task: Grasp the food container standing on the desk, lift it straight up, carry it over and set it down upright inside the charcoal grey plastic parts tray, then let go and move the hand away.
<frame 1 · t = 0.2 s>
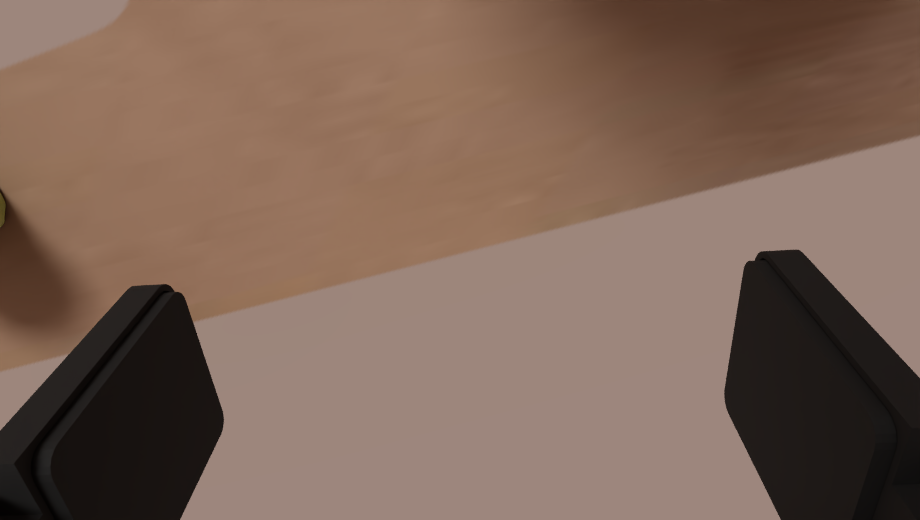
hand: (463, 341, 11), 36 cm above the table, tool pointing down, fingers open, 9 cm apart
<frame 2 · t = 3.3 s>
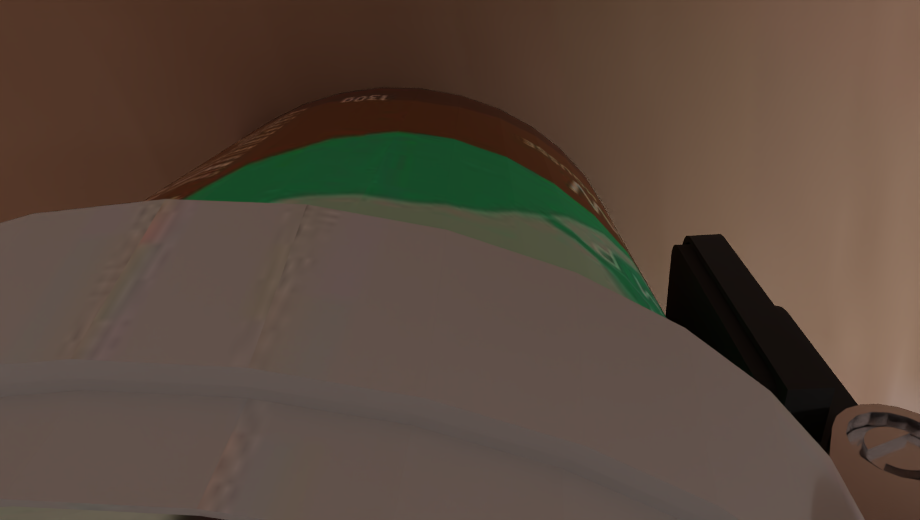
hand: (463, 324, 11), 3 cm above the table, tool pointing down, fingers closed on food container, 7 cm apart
food container: (506, 223, 13), on the table, touching gripper
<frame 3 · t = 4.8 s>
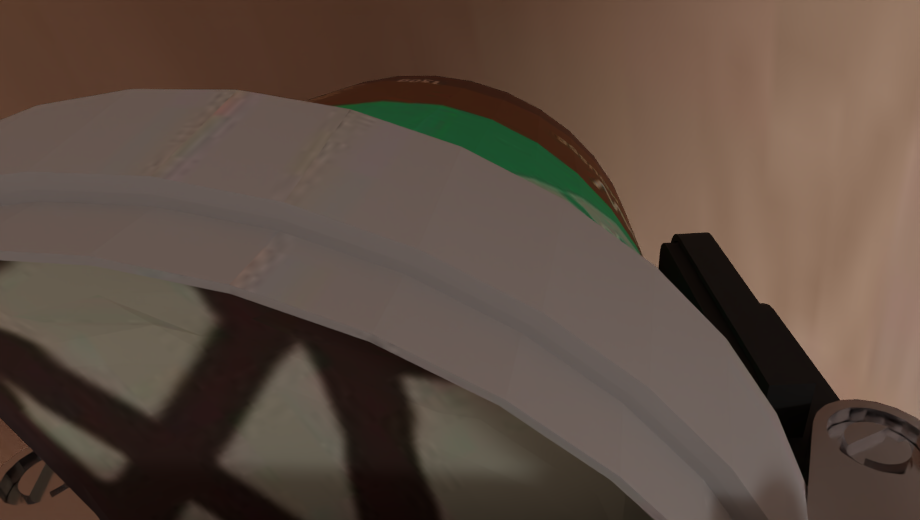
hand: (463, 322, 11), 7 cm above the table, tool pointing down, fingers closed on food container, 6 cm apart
food container: (534, 220, 14), point 3 cm above the table, touching gripper
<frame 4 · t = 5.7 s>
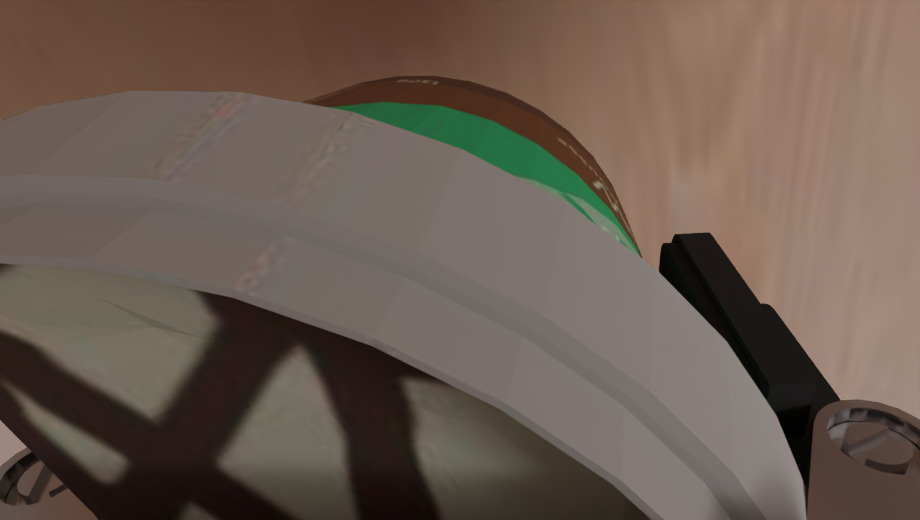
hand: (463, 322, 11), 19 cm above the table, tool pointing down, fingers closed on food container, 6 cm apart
food container: (533, 221, 14), point 15 cm above the table, touching gripper
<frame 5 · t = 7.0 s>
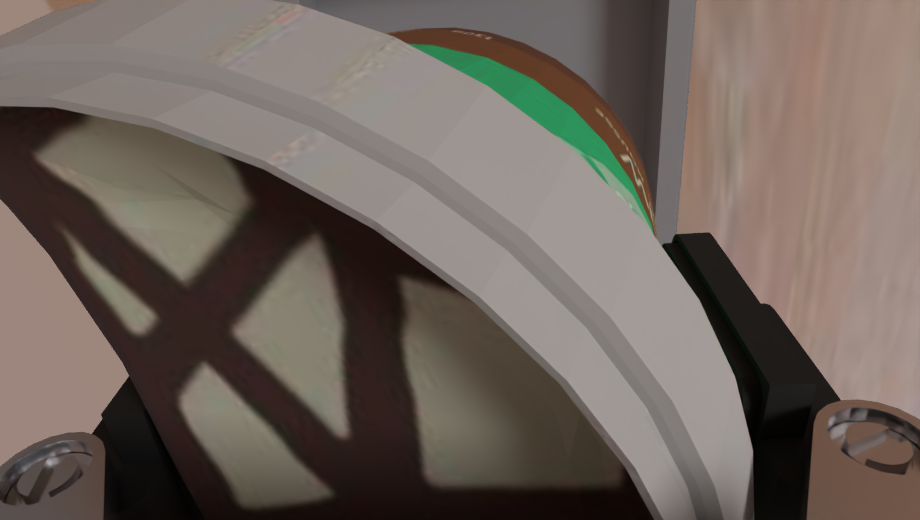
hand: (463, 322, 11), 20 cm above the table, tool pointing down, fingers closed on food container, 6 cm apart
parts tray: (494, 168, 32), on the table
food container: (562, 188, 15), point 16 cm above the table, touching gripper
when the fingers open (6 cm above the table, at t = 10.7 s): food container stays where it is, resting on parts tray.
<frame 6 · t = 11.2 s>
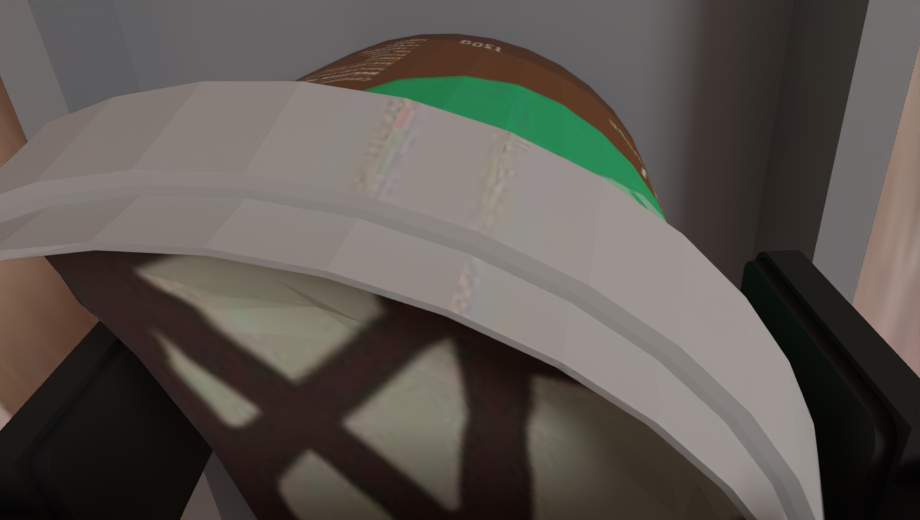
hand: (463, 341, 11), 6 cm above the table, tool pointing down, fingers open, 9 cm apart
parts tray: (466, 197, 16), on the table
food container: (562, 188, 15), point 1 cm above the table, touching parts tray
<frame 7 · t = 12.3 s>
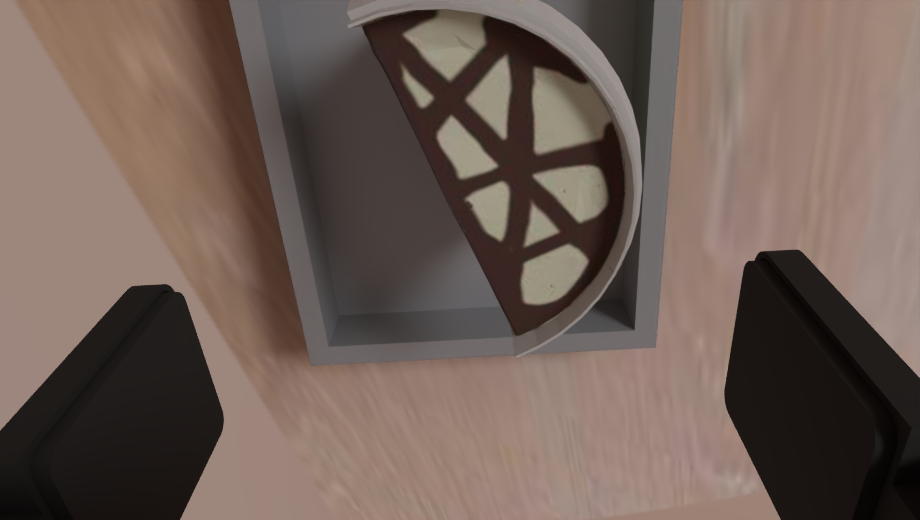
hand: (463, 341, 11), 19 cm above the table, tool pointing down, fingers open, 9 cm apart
parts tray: (464, 101, 28), on the table
food container: (518, 88, 27), point 1 cm above the table, touching parts tray
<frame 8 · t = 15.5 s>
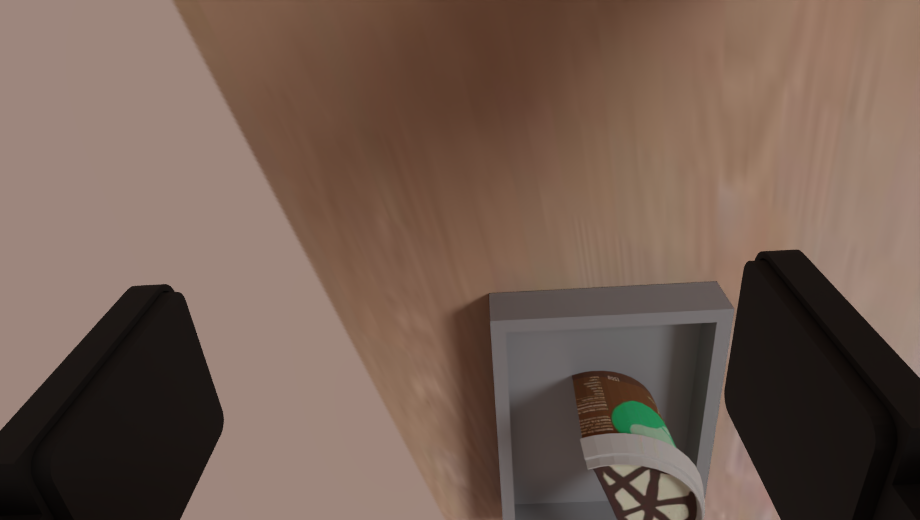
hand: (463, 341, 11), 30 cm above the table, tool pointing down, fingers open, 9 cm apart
parts tray: (597, 405, 51), on the table
food container: (629, 404, 50), point 1 cm above the table, touching parts tray
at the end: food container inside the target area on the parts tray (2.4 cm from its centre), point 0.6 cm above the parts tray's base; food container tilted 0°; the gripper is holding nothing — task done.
